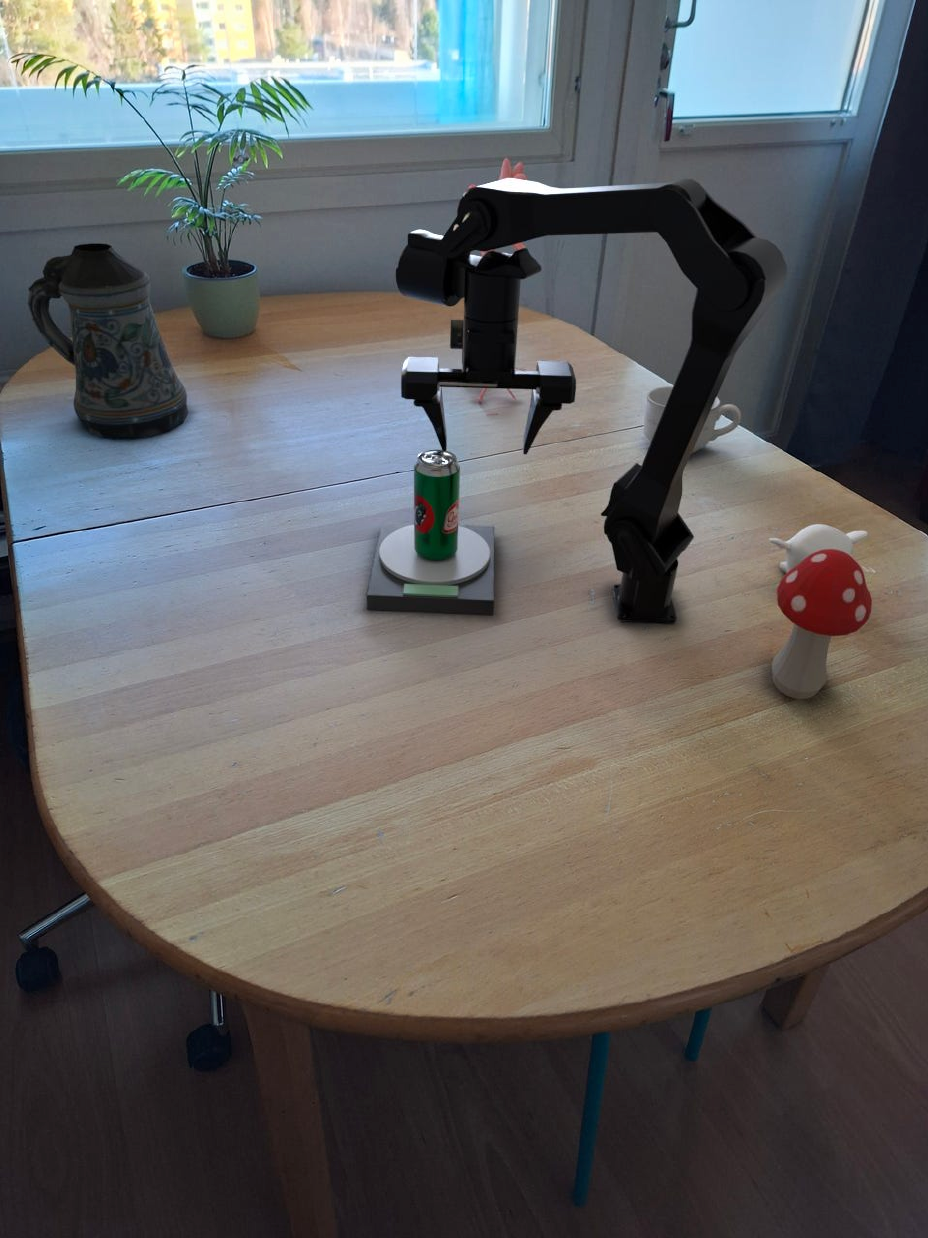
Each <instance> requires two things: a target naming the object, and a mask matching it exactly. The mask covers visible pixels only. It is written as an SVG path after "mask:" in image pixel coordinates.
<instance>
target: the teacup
mask: <svg viewBox="0 0 928 1238" xmlns="http://www.w3.org/2000/svg"><path fill="white" fill-rule="evenodd" d="M673 386H674V385H668V386H667V385H666V386H659V387H655V388H652V389H651V390H649V391H647V393H646V403H645V408H644V415H643V434H644V436H645V437H646V439H647V440H648V441H649V442H650V443H651V441H652V438H653V436H654V433H655V431H656V428H657V426H658V423H659V421H660V418H661V416H662V413H663V411H664V408H665V406H666V404H667V401H668V399H669V396H670V394H671V391H672V389H673ZM727 412H728V413H729V412H730V413H732V414H733V417H734V418H733V421H732V422H731V423H730V424H728V425H726V426H725V427H721V428H717V429H715V428H716V423H717V421H719V420H720V418H721V416H722V415H723V414H725V413H727ZM741 420H742V413H741V410H740V409H739V407H737V406H736V405H735V404H731V403H727V404H722V405H721V400H720V398H719V397H718V396H717V397H716V399H715V401H714V404H713V406H712V408H711V410H710V413H709V415H708V417H707V419H706V422H705V424H704V426H703V428H702V431H701V433H700V435H699V437H698V440H697V442H696V444H695V447H694V449H693V451H692V453H691V454H693V453H696V452H697V451H699V450H700V449H702V448H704V447H705V446H706V445H708V444H709V443H710V442H713V441H715V440H717V438H718V437H721V436H725V435H727V434H729V433H731V432H733V431H734V430H736V429H737V428H738V426H739V425H740V423H741Z"/></svg>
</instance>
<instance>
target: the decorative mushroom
mask: <svg viewBox="0 0 928 1238" xmlns="http://www.w3.org/2000/svg"><path fill="white" fill-rule="evenodd" d="M862 569H863V567H861V565H860V564H859V562H858V561H857V560H856V559H855V558H854V557H853V555H852V556H850V555H849V554H847V553H845V552H843V551H840V550H835V549H824V550H820V551H817V552H814V553H812V554H810V555H809V556H808V557H806V558H805V559H804V560H803V561H802V562H800V564H799V565H797V566H796V567H794V568H793V569H791V570H790V571H789V572H787V573H786V572H785V574H784V576H783V577H782V578H781V580H780V582H779V584H778V586H777V588H776V597H777V598H776V599H777V606H778V608H779V609H780V612H781V613H782V615H784V617H786V618H787V619H788V620H789V621H790V622H791V623H793V627H792V631H791V633H790V635H789V637H788V639H787V640H786V642H785V643H784V645H783V647H782V648H781V650H780V651H779V652H778V653H777V654H776V655H775V657H774V658H773V659H772V662H771V672H772V673H771V674H772V677H771V678H772V682H773V685H774V687H776V689H777V690H778V691H779V692H780V693H782V694H783V695H784V696H786V697H789V698H791V699H795V700H808V699H810V698H813V697H815V695H817V694H818V692H819V691H820V690H822V688H823V687H824V685H825V684H826V682H827V679H828V672H827V661H828V652H829V647H830V643H831V639H832V637H840V636H848V635H851V634H853V633H855V632H858V631H859V630H861V628H862V627H863V626H864V625H866V623H867V622H868V620H869V619H870V616H871V613H872V605H873V600H872V594H871V592H870V590H869V587H868V585H867V581H866V577H865V574H864V571H863V570H864V569H863V570H862Z"/></svg>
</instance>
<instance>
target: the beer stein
mask: <svg viewBox="0 0 928 1238" xmlns="http://www.w3.org/2000/svg"><path fill="white" fill-rule="evenodd" d="M42 274H43V276H42V277H40V278H37V279H36V280H35V281H33V282H32V284H31V285H30V286H29V287H28V292H29V293H28V297H27V307H28V312H29V314H30V317H31V320H32V322H33V324H34V326H35V328H36V330H37V331H38V332H39V334H40V335H41V336H42V337H43V338H44V340H45V341H46V342H47V343H48V344H49V346H50V347H51V348H53V350H54V351H56V352H57V353H58V354H59V355H60V356H61V357H62V358H63V359H65V360H66V361H67V362H69V363H70V364H71V365H72V366H74V368H75V391H74V397H73V409H74V412H75V414H76V416H77V418H78V419H79V421H80V424H81V427H82V429H84V430H85V432H87V433H88V434H89V435H91V436H94V437H98V438H100V439H101V438H102V439H108V440H140V439H147V438H152V437H155V436H158V435H159V436H160V435H162V434H164V433H168V432H171V431H172V430H174V429H175V428H177V427H179V426H180V425H182V424H184V422H185V420H186V419H187V417H188V414H189V409H188V405H187V403H188V393H187V390H186V387H185V386H184V384H183V383H182V382H181V380H180V379H179V377H178V375H177V373H176V371H175V368H174V366H173V364H172V361H171V359H170V357H169V354H168V351H167V349H166V346H165V344H164V341H163V338H162V334H161V332H160V329H159V326H158V321H157V319H156V317H155V313H154V311H153V308H152V305H151V301H150V293H151V278H150V276H149V275H148V274H147V273H146V272H145V271H144V270H143V269H142V268H140V267H138V266H137V265H135V264H134V263H132V262H130V261H128V260H127V259H125V258H124V257H123V256H122V255H120V254H119V253H118V252H117V251H115V249H114V248H113V246H112V245H110V244H108V243H96V242H95V243H94V242H93V243H81V244H77V245H74V246H73V249H72V251H71V254H68V255H62V256H58V255H57V256H55V257H51V258H50V259H49V260H47V261H46V263H45V265H44V266H43V269H42ZM61 297H62V298H63V300H64V301H65V302H66V304H67V305H68V309H69V315H70V316H69V317H70V328H71V338H70V337H69V336H68V335H67V334H66V333H65V332H64V331H63V330H62V329H61V327H60V326H59V325H58V324H57V322H56V321H55V320H54V318H53V316H52V314H51V311H50V301H51V299H60V298H61Z"/></svg>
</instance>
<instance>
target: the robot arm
mask: <svg viewBox="0 0 928 1238" xmlns="http://www.w3.org/2000/svg"><path fill="white" fill-rule="evenodd" d="M456 213H457V214H456V217H455V218H454V220H453V221H452V223H451V225H450V226H449V227H448V229H447V230H446V232H445V233H444V235H440V234H435V233H432V232H431V231H428V230H424V229H416V230H413V231H410V232H408V233H407V245H406V246H405V247H404V248H403V250H402V252H401V254H400V256H399V260H398V263H397V267H396V268H395V282H396V286H397V289H398V291H399V293H400V294H401V295H402V296H403V297H405V298H408V299H409V298H410V299H414V300H417V301H418V300H419V301H422V302H428V303H432V304H436V305H440V306H445V307H454V306H456V305H457V304H459V302H460V301H461V300H462V299H463V319H450V333H449V335H450V336H449V339H450V340H449V342H450V343H449V348H450V349H451V350H461V365H462V367H461V368H440V357H426V356H425V357H423V356H422V357H421V356H408V357H407V358H406V359H405V360H404V361H403V364H402V370H401V374H400V375H401V377H400V393H401V394H400V396H401V398H402V399H405V400H413V406H414V407H419V408H422V409H423V410H424V413H425V414H426V416H427V417H428V420H429V421H430V423H431V425H432V427H433V430H434V432H435V435H436V438H437V440H438V442H439V445H440V448H441V450H445V451H448V449H447V448H448V433H447V425H446V417H445V415H446V414H445V407H444V398H443V388H464V389H465V388H468V389H469V388H470V389H484V388H488V389H501V390H502V389H504V390H507V389H509V390H531V394H530V404H529V409H528V414H527V419H526V424H525V429H524V434H523V442H522V455H528V454H529V451H530V449H531V448H532V445H533V443H534V442H535V439H536V437H537V436H538V433H539V432H540V431H541V428H542V427H543V425H544V424H545V423H546V421H547V420H548V418H549V417H550V415H551V414H552V413H553V412H555V411H561V410H562V409H563V404H566V405H571V404H573V403H575V402H576V393H577V378H576V375H575V371H574V367H573V365H571V364H570V362H569V361H568V360H567V361H566V360H565V361H564V360H537V363H536V368H535V370H525V371H522V370H516V358H517V344H518V328H519V327H518V326H519V309H520V297H521V295H520V294H521V293H520V292H521V280H525V279H528V278H530V277H532V276H535V275H537V274H539V273H540V272H542V266H541V264H540V263H539V262H538V261H537V259H536V258H534V257H533V256H532V255H531V253H530V251H529V249H528V248H527V247H525V248H522V249H520V250H517V251H516V250H514V252H513V253H509V252H504V251H498V249H501V248H506V247H510V246H512V245H514V244H517V243H521V242H522V243H524V242H527V241H531V240H535V239H539V238H543V237H547V236H576V235H579V236H580V235H583V236H584V235H611V234H614V235H615V234H616V235H617V234H647V233H649V234H651V233H656V234H658V235H659V236H660V237H661V238H662V240H664V242H665V243H666V244H667V247H668V248H669V250H670V252H671V254H672V256H673V258H674V259H675V261H676V264H677V265H678V267H679V269H680V271H681V272H682V273H683V275H684V276H685V278H687V279H688V280H689V282H691V284H692V285H693V286H694V287H695V288H696V290H695V295H694V301H693V304H692V310H691V315H690V316H691V317H690V318H691V327H690V329H691V330H690V343H689V346H688V348H687V352H686V354H685V356H684V358H683V361H682V364H681V366H680V369H679V372H678V374H677V376H676V379H675V381H674V384H673V385H672V386H673V389H672V391H671V394H670V396H669V399H668V401H667V404H666V406H665V408H664V411H663V413H662V416H661V418H660V421H659V423H658V426H657V428H656V431H655V433H654V436H653V438H652V441H651V442H650V444H649V445H648V448H647V451H646V453H645V456H644V458H643V461H642V462H641V464H639V463H638V462H635V463H634V464H633V465H632V466H631V467H630V468H629V469H628V470H626V472H625V473H624V474H622V475H621V476H620V477H618V479H617V480H616V481H615V482H614V483H613V484H612V487H611V490H610V495H609V501H608V504H607V506H606V507H605V508H604V510H603V511H602V512H601V513H600V516H601V517H605V519H604V522H603V533H604V535H605V536H606V537H607V540H608V542H609V543H610V545H611V549H612V554H613V558H614V562H615V568H616V570H617V571H618V572H621V573H622V576H621V580H620V581H621V582H620V584H613V585H612V586H611V587H612V588H611V591H612V596H613V603H614V607H615V612H616V618H617V620H619V621H621V622H642V623H668V624H675V623H676V622H677V613H676V611H675V606H674V603H673V599H672V596H673V591H674V586H675V582H676V578H677V577H676V576H677V573H678V567H679V560H678V558H679V557H680V556H681V555H682V553H683V552H685V551H686V549H688V547H689V545H690V544H691V543H692V541H693V540H694V537H695V536H694V534H693V532H692V530H691V529H690V528H689V526H688V525H687V523H686V522H685V520H684V519H683V517H682V516H681V515H680V513H679V510H680V505H681V501H682V497H683V476H684V472H685V469H686V467H687V464H688V463H689V460H690V458H691V455H692V454H693V453H692V451H693V449H694V447H695V444H696V442H697V440H698V437H699V435H700V433H701V431H702V428H703V426H704V424H705V422H706V419H707V417H708V415H709V413H710V410H711V408H712V406H713V404H714V401H715V399H716V397H718V395H719V392H720V390H721V388H722V385H723V383H724V381H725V378H726V377H727V374H728V372H729V370H730V368H731V365H732V363H733V360H734V359H735V356H736V354H737V352H738V350H739V348H740V347H741V346H742V344H743V343H744V342H745V340H746V339H747V337H748V336H749V335H750V333H751V332H752V331H753V329H754V328H755V327H756V325H757V324H758V323H759V322H760V320H761V319H762V317H763V316H764V314H765V313H766V311H767V310H768V309H769V307H770V305H771V304H772V302H773V301H774V299H775V298H776V297H777V295H778V293H780V290H781V289H782V287H783V285H784V284H785V281H786V278H787V273H788V272H787V271H788V265H787V263H786V260H785V257H784V254H783V252H782V251H781V250H780V249H779V248H778V246H777V245H776V244H775V243H773V242H771V241H770V240H768V239H766V238H761V237H757V236H756V235H755V233H754V232H753V231H752V230H751V229H750V228H749V227H748V226H747V225H746V223H744V222H743V220H741V219H740V218H738V217H737V216H736V215H735V214H733V213H732V212H731V211H729V210H728V209H727V208H725V207H724V206H722V205H721V204H720V203H718V202H717V201H716V200H715V199H714V198H713V197H712V196H711V195H710V194H709V192H707V190H706V189H705V188H704V187H703V186H702V185H701V183H700V182H699V181H696V180H694V179H692V178H685V177H684V178H680V179H677V180H675V181H669V182H668V181H667V182H654V183H635V184H622V185H621V184H619V185H600V186H587V187H569V188H560V187H553V186H550V185H547V184H543V183H541V182H538V181H533V180H527V181H526V180H520V179H513V178H506V179H503V180H496V181H493V182H489V183H485V184H481V185H477V186H476V187H474V188H470V189H469V190H468V189H467V190H466V191H464V192H463V194H462V197H461V198H460V200H459V202H458V206H457V210H456ZM494 249H495V251H490V250H494ZM474 251H476V252H477V251H478V252H480V251H483V252H485V255H484V256H482V255H481V256H480V255H475V254H471V253H472V252H474ZM487 251H489V252H487Z"/></svg>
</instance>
